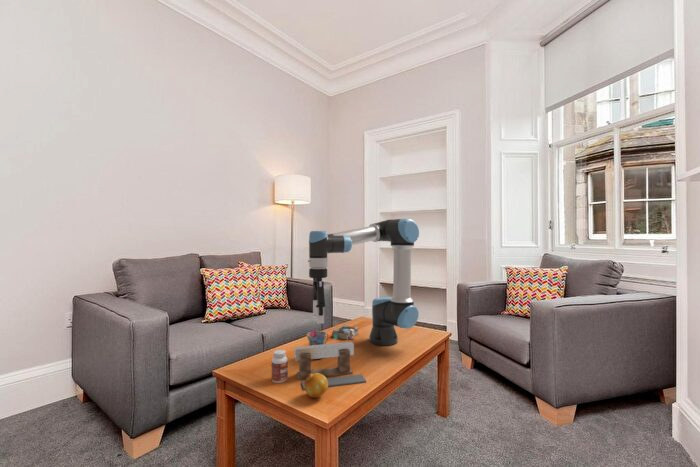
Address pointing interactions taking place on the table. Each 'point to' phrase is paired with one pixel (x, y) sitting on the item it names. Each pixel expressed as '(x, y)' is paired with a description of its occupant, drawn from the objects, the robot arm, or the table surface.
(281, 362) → the pill bottle
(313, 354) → the rail
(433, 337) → the table surface
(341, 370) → the stand
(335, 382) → the felt mat
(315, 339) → the mug
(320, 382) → the fruit
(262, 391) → the table surface
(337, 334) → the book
